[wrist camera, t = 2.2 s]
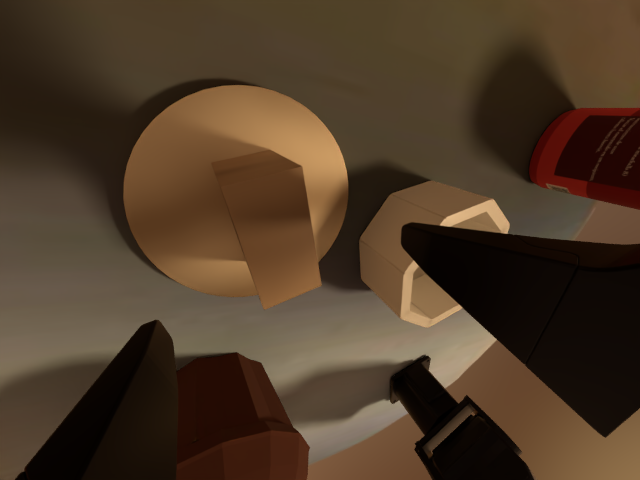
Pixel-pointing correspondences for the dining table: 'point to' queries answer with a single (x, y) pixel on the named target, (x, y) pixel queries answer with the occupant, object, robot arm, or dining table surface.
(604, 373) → the robot arm
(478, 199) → the hollow octagonal cup
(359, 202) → the dining table surface
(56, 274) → the dining table surface
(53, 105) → the dining table surface
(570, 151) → the canned food
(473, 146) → the dining table surface
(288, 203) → the lid
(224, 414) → the muffin
